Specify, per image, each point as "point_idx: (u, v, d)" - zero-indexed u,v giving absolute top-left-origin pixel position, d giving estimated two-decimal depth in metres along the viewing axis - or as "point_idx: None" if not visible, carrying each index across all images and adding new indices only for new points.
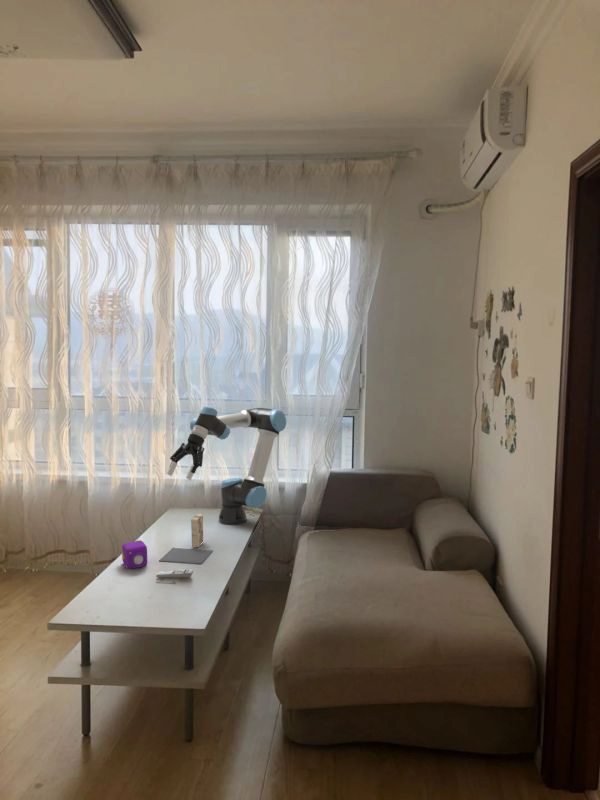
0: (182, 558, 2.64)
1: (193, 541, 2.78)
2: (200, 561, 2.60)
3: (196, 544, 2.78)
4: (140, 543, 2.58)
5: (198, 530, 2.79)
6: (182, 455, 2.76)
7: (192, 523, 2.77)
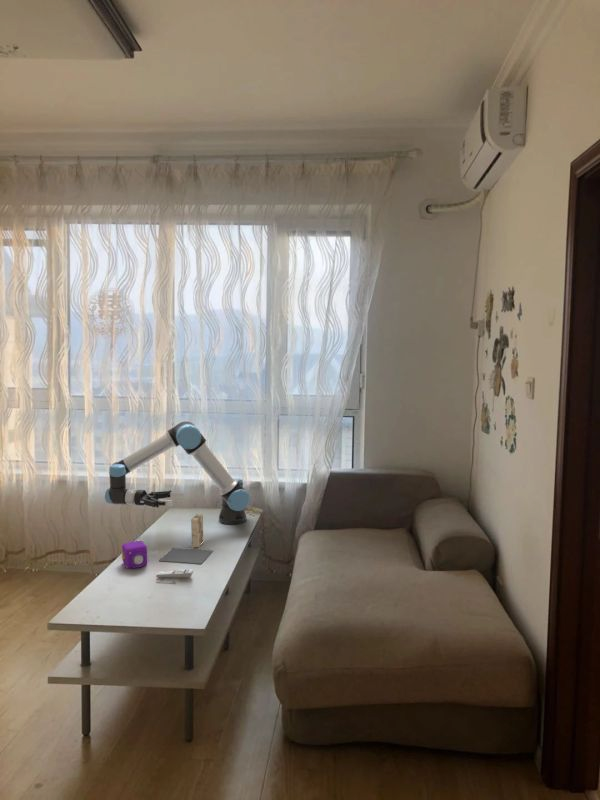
0: (182, 558, 2.64)
1: (193, 541, 2.78)
2: (200, 561, 2.60)
3: (196, 544, 2.78)
4: (140, 543, 2.58)
5: (198, 530, 2.79)
6: (160, 496, 2.87)
7: (192, 523, 2.77)
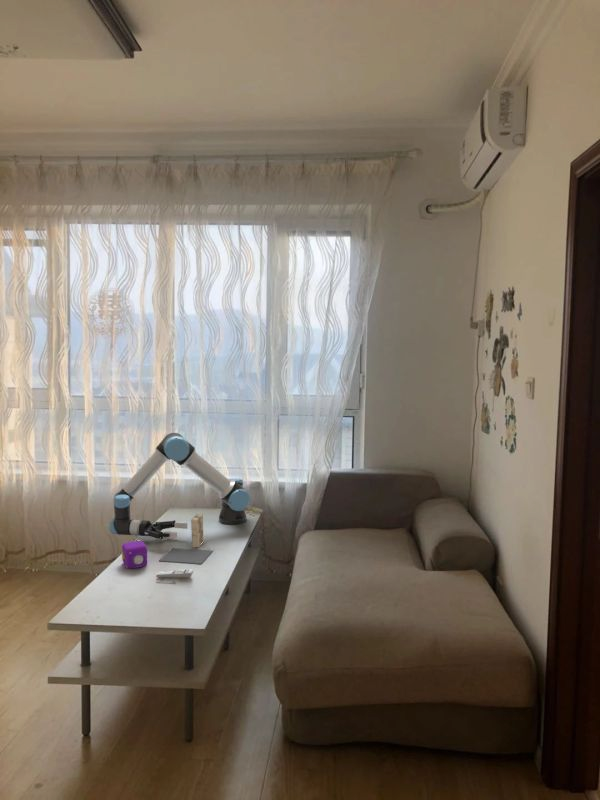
0: (182, 558, 2.64)
1: (193, 541, 2.78)
2: (200, 561, 2.60)
3: (196, 544, 2.78)
4: (140, 543, 2.58)
5: (198, 530, 2.79)
6: (164, 526, 2.88)
7: (192, 523, 2.77)
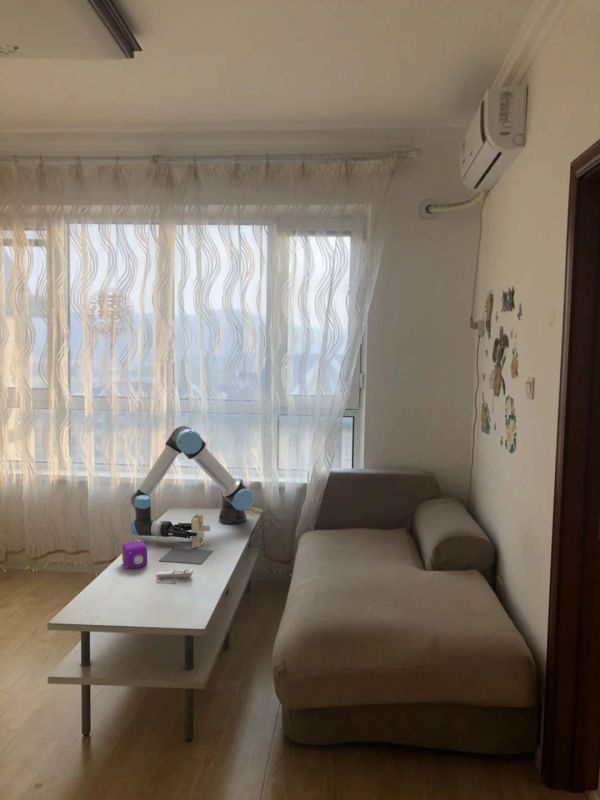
0: (182, 558, 2.64)
1: (193, 541, 2.78)
2: (200, 561, 2.60)
3: (196, 544, 2.78)
4: (140, 543, 2.58)
5: (198, 530, 2.79)
6: (186, 528, 2.85)
7: (192, 523, 2.77)
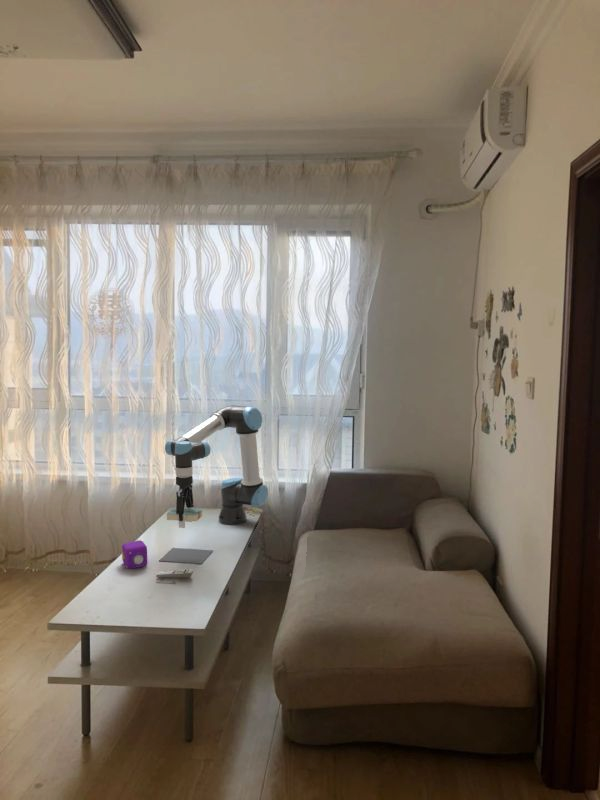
0: (182, 558, 2.64)
1: (173, 515, 2.62)
2: (200, 561, 2.60)
3: (170, 518, 2.62)
4: (140, 543, 2.58)
5: None
6: (187, 498, 2.67)
7: (192, 515, 2.61)
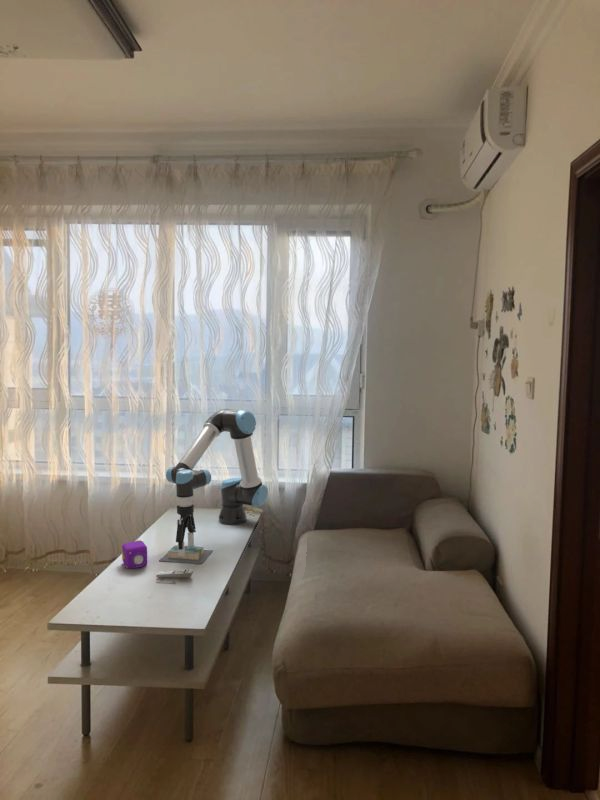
0: None
1: (174, 553, 2.64)
2: (200, 561, 2.60)
3: (171, 556, 2.64)
4: (140, 543, 2.58)
5: None
6: (188, 525, 2.70)
7: (193, 554, 2.62)
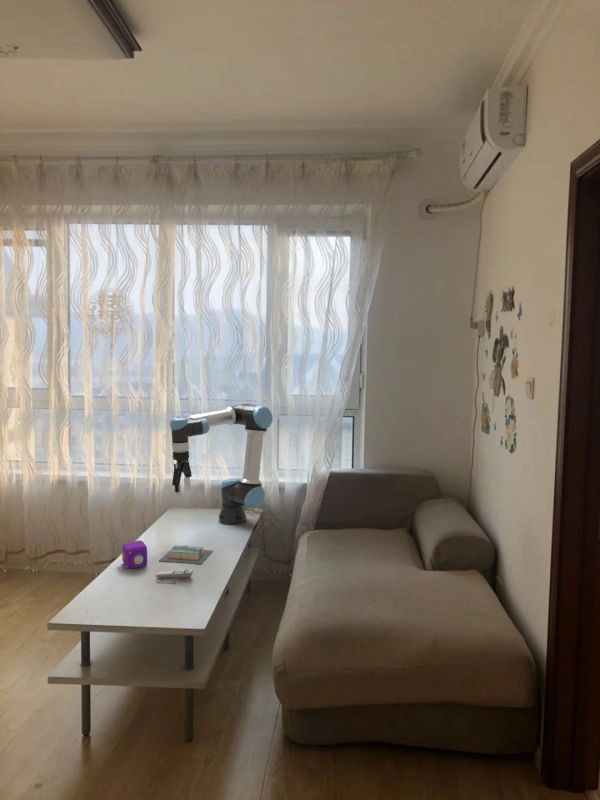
0: None
1: (174, 553, 2.64)
2: (200, 561, 2.60)
3: (171, 556, 2.64)
4: (140, 543, 2.58)
5: None
6: (184, 470, 2.80)
7: (193, 554, 2.62)
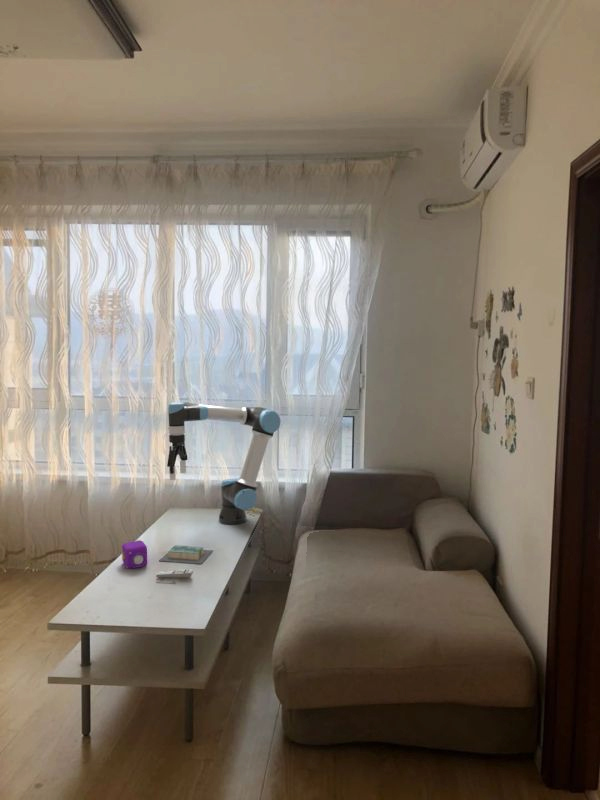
0: None
1: (174, 553, 2.64)
2: (200, 561, 2.60)
3: (171, 556, 2.64)
4: (140, 543, 2.58)
5: None
6: (180, 453, 2.90)
7: (193, 554, 2.62)
